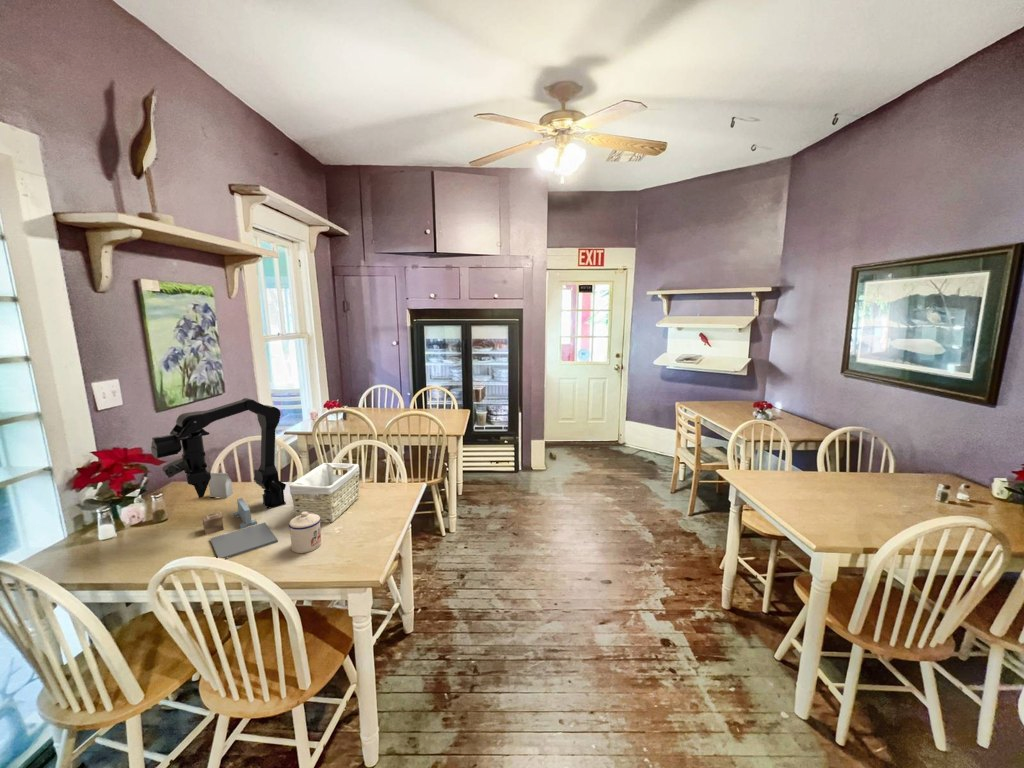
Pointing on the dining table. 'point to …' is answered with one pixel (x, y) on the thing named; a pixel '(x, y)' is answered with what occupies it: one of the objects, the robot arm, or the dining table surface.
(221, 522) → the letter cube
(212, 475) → the grey block
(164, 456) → the robot arm
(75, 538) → the dining table surface
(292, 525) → the lidded ceramic jar
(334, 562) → the dining table surface
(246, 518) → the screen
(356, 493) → the storage basket
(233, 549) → the tile
